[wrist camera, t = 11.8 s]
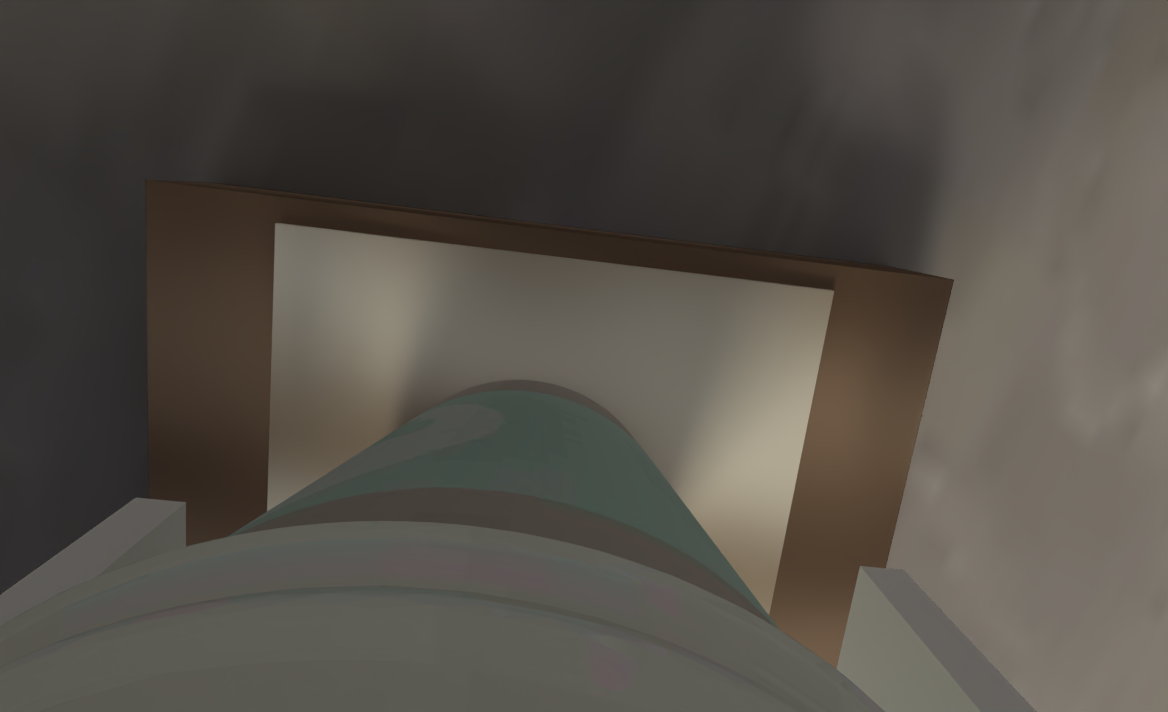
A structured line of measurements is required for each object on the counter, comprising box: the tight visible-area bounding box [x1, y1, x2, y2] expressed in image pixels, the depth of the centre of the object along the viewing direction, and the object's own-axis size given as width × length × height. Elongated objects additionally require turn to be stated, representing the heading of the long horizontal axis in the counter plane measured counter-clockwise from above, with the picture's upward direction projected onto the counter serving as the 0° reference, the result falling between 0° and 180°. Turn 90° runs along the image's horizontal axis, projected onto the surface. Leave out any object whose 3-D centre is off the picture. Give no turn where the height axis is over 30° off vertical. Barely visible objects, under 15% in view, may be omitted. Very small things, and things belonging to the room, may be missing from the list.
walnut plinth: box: [145, 180, 954, 669], centre depth 16 cm, size 12×16×3 cm
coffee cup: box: [0, 380, 885, 712], centre depth 9 cm, size 8×8×12 cm
